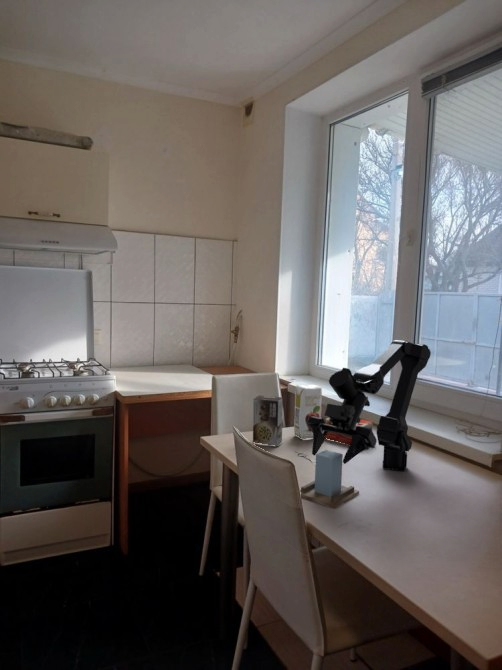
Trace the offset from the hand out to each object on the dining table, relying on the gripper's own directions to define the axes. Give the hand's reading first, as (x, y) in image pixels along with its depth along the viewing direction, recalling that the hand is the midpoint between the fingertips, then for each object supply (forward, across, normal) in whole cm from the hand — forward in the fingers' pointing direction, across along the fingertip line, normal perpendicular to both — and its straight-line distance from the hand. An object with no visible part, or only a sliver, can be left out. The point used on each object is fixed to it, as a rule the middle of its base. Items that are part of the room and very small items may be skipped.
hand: (328, 458), depth 131 cm
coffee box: (-10, -39, +24) cm, 47 cm away
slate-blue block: (+6, 0, +7) cm, 9 cm away
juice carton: (-21, -33, +36) cm, 53 cm away
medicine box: (-26, -20, +40) cm, 52 cm away
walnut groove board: (+6, 0, +7) cm, 10 cm away
